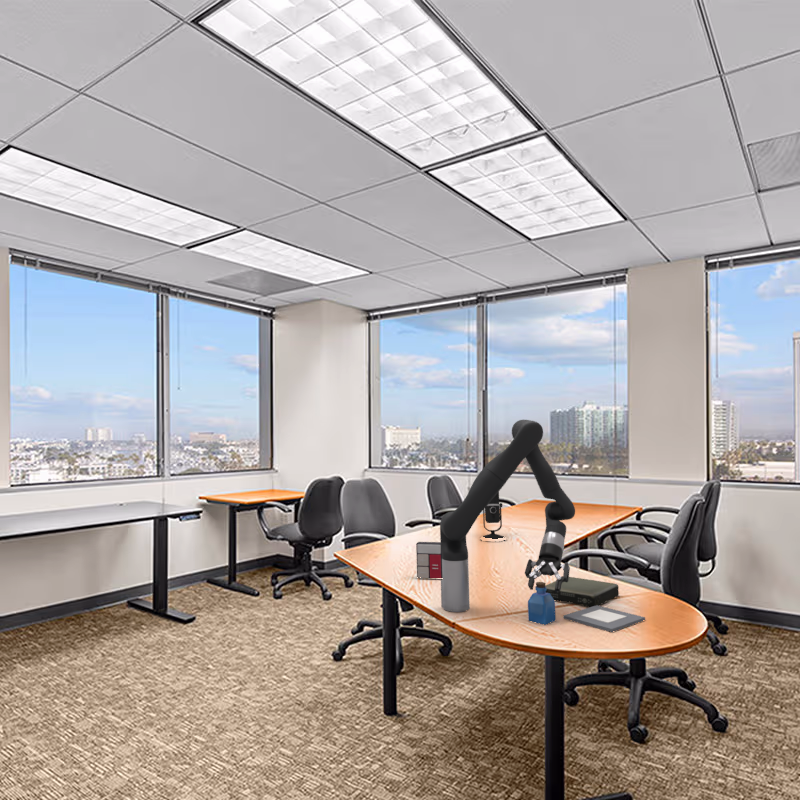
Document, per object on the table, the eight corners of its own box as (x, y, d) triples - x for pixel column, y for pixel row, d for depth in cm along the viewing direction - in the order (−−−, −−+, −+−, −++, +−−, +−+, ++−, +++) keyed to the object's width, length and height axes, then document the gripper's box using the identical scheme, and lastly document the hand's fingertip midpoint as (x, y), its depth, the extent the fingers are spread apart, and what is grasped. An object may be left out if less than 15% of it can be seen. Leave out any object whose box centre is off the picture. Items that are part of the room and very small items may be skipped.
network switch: (621, 595, 222) (620, 581, 222) (603, 611, 202) (603, 596, 203) (560, 587, 235) (559, 574, 235) (538, 601, 215) (537, 587, 216)
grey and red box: (416, 579, 251) (415, 543, 252) (418, 576, 256) (417, 541, 257) (442, 580, 249) (441, 544, 250) (443, 577, 253) (443, 542, 254)
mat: (563, 618, 194) (563, 614, 194) (596, 608, 205) (596, 604, 205) (611, 632, 180) (611, 628, 180) (645, 620, 190) (645, 616, 190)
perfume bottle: (528, 621, 192) (527, 583, 193) (538, 616, 197) (537, 579, 197) (545, 625, 188) (543, 586, 189) (555, 620, 192) (554, 582, 193)
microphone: (480, 542, 334) (479, 488, 336) (478, 537, 350) (476, 486, 352) (508, 542, 334) (507, 488, 335) (504, 537, 349) (503, 485, 351)
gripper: (529, 540, 207) (519, 581, 197) (570, 543, 200) (562, 585, 189) (534, 553, 211) (525, 593, 201) (575, 556, 204) (567, 598, 194)
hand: (543, 589), depth 195 cm, fingers open, 8 cm apart
